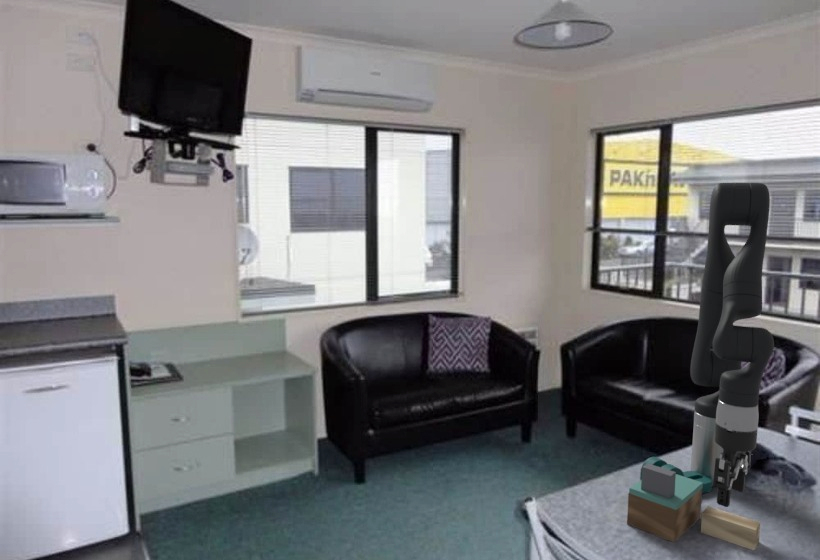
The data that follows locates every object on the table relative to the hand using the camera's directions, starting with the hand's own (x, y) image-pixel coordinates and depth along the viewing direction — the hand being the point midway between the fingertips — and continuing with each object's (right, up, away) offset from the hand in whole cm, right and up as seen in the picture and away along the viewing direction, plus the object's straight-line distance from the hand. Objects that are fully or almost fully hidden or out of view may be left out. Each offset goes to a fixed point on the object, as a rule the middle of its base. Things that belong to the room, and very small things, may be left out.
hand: (730, 497), depth 124 cm
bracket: (-1, -6, +21) cm, 22 cm away
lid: (-11, -1, +6) cm, 12 cm away
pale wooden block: (0, -9, 0) cm, 9 cm away
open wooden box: (-11, -8, +7) cm, 15 cm away
